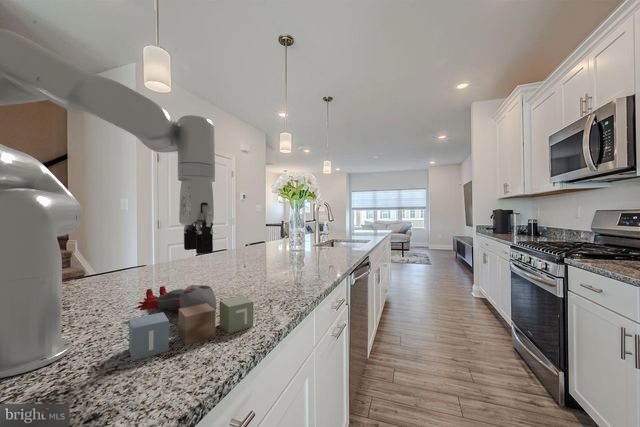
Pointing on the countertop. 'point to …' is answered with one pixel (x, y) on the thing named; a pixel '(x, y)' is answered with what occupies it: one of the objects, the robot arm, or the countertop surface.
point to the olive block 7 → (236, 313)
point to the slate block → (148, 335)
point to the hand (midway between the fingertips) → (197, 251)
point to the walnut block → (196, 323)
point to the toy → (180, 298)
